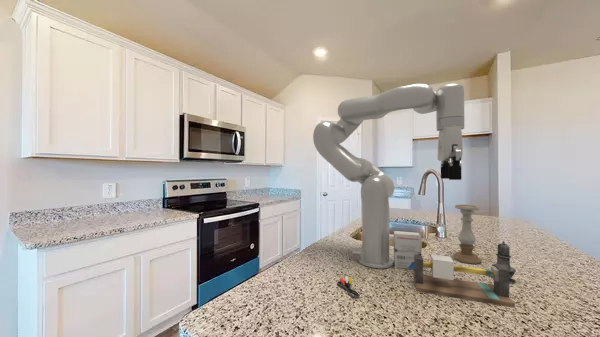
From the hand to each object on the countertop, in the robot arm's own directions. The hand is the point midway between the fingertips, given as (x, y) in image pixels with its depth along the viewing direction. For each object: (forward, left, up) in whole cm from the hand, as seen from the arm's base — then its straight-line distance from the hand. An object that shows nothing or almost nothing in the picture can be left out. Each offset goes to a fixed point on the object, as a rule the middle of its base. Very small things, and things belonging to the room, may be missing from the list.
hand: (450, 179), depth 77 cm
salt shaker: (+15, +5, -31) cm, 35 cm away
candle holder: (+9, +20, -31) cm, 38 cm away
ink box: (-12, +5, -31) cm, 34 cm away
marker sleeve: (-4, -8, -28) cm, 29 cm away
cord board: (0, -8, -31) cm, 32 cm away
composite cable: (-29, -20, -32) cm, 47 cm away
